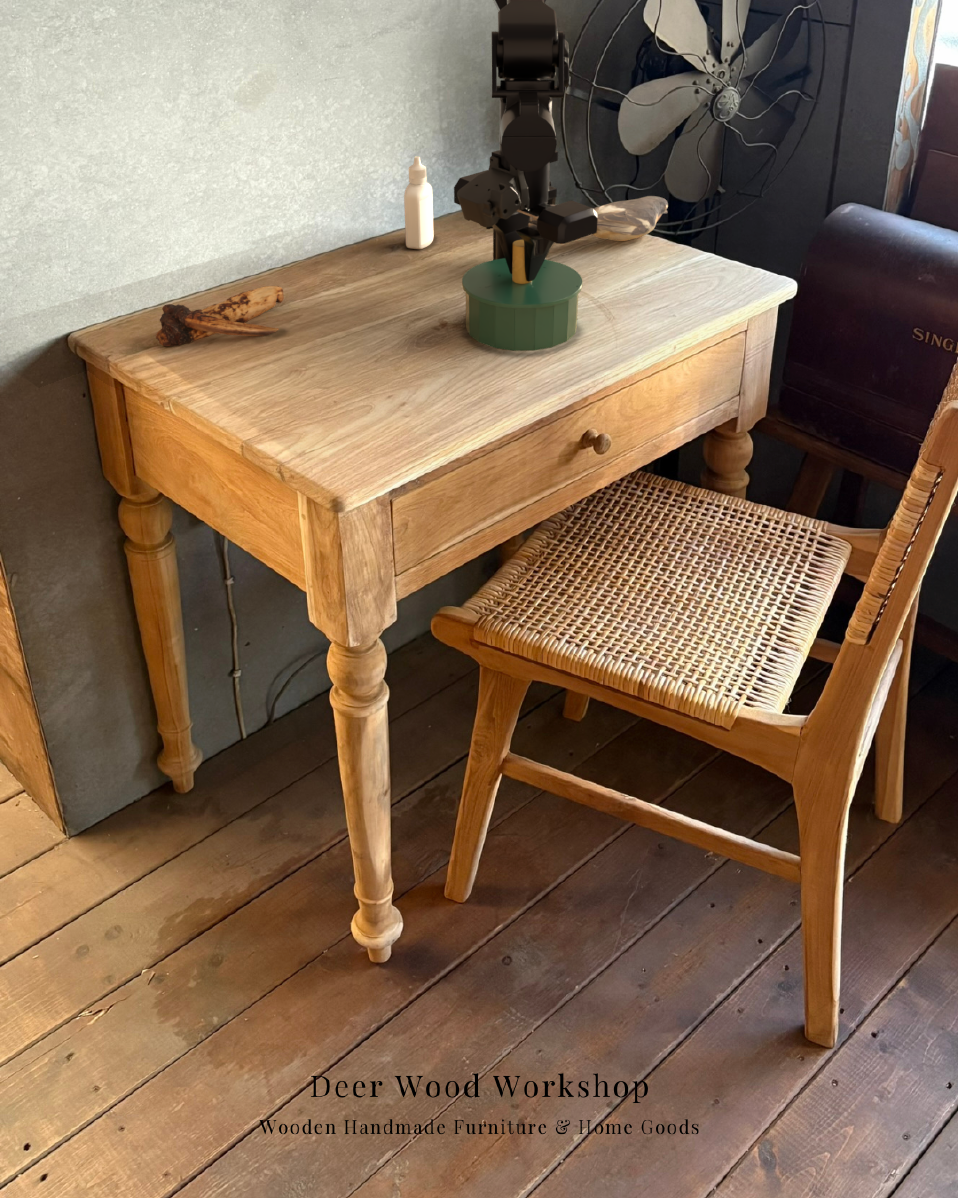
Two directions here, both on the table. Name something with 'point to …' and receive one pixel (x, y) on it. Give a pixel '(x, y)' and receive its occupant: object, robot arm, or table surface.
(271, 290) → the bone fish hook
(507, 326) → the tin
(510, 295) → the lid
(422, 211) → the eye dropper bottle
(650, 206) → the decorative bird
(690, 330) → the table surface
